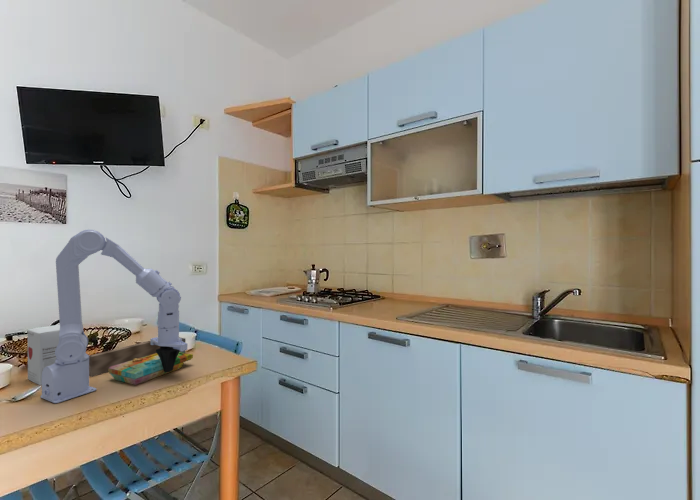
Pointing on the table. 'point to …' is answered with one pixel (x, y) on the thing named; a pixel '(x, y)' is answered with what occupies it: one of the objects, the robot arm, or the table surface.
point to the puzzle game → (144, 368)
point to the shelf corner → (120, 356)
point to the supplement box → (41, 350)
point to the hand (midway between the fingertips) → (168, 371)
